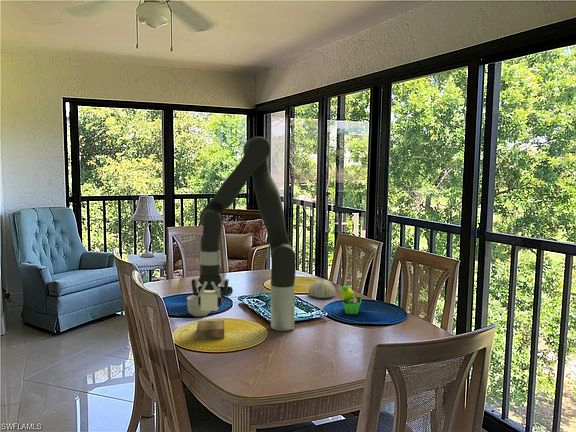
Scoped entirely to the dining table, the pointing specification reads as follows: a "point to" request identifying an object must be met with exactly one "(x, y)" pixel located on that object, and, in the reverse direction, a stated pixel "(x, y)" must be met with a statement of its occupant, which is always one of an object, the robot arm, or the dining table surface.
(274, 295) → the robot arm
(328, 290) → the sea urchin shell
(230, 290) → the sunglasses
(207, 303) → the cream cube
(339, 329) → the dining table surface
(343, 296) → the fruit basket
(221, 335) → the walnut base
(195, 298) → the teacup
